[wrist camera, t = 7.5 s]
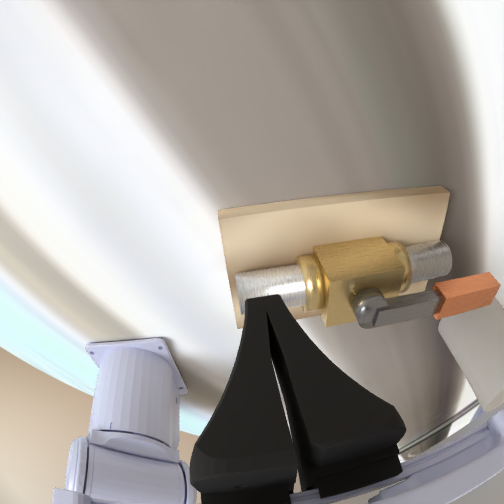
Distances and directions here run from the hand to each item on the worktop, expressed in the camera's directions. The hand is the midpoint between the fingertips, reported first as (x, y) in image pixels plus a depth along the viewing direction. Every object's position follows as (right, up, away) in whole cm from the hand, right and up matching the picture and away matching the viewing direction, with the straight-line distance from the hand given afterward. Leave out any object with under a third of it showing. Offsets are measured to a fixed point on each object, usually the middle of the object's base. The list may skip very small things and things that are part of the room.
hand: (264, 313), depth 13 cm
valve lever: (+12, 0, +7) cm, 14 cm away
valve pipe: (+6, +2, +11) cm, 13 cm away
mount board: (+6, +2, +11) cm, 13 cm away
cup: (+25, -5, +19) cm, 32 cm away
